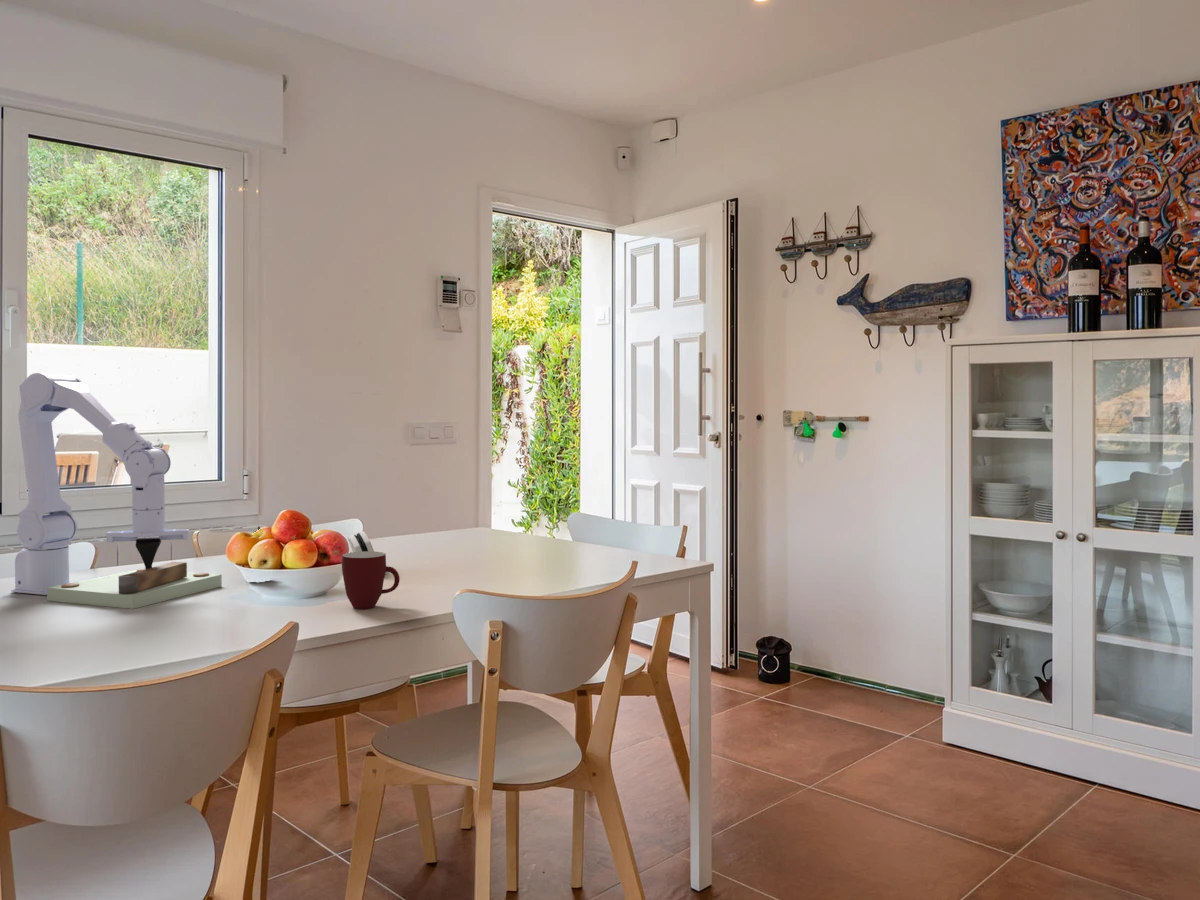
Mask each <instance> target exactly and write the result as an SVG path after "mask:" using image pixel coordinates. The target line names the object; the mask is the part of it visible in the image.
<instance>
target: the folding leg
mask: <svg viewBox="0 0 1200 900" xmlns="http://www.w3.org/2000/svg"><path fill="white" fill-rule="evenodd" d="M187 564H188V562H186V561H184V562H183V561H182V562H181V561H172V562H168V563H164V564H160V565H156V566H152V568H149V569H145V570H141V571H137V572H134V573H130V574H126V575H122V576H119V593H121V594H128V593H135V592H138V591H142V590H145V589H148V588H151V587H155V586H158V585H161V584H165V583H168V582H171V581H175V580H178V579H181V578H185V577H187V572H188V565H187Z"/></svg>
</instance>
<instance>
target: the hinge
mask: <svg viewBox="0 0 1200 900" xmlns="http://www.w3.org/2000/svg"><path fill="white" fill-rule="evenodd" d="M347 539H348V543H349V545H350V548H351V551H352V552H363V551H373V552H375V550H374V548H373V544H372V543H371V540H370V539H369V537H368V534H367V533H366V532H365V531H358V532H357V533H356V534H351V535H349V536H348V537H347ZM388 574H389V572H386V573H385V575H388Z"/></svg>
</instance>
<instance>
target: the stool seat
mask: <svg viewBox="0 0 1200 900" xmlns="http://www.w3.org/2000/svg"><path fill="white" fill-rule="evenodd" d="M141 570H145V567H144V568H143V567H142V568H139V569H133V570H128V571H123V572H117V573H113V574H109V575H103V576H99V577H92V578H87V579H83V580H78V581H73V582H69V583H68V584H63V585H58V586H53V587H48V588H47V595H46V601H48V602H56V603H57V602H58V603H69V604H70V603H71V604H79V605H88V606H89V605H90V606H99V607H111V608H120V609H129V610H130V609H131V610H134V609H137V608H141V607H145V606H149V605H153V604H157V603H162V602H165V601H168V600H173V599H178V598H181V597H184V596H188V595H193V594H197V593H201V592H204V591H208V590H213V589H217V588H220V587H222V584H223V583H222V581H223V580H222V579H223V578H222V576H223V575H222V574H220V573H219V574H217V573H209V572H194V571H187V577H185V578H181V579H178V580H175V581H171V582H168V583H165V584H161V585H158V586H155V587H151V588H148V589H145V590H142V591H138V592H135V593H128V594H121V593H119V576H122V575H126V574H130V573H134V572H137V571H141Z"/></svg>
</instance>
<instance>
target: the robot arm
mask: <svg viewBox="0 0 1200 900" xmlns="http://www.w3.org/2000/svg"><path fill="white" fill-rule="evenodd" d="M18 387H19V394H20V400H21V401H20V405H19V409H18V423H19V424H18V425H19V432H20V441H21V446H22V447H21V448H22V455H23V457H22V458H23V463H24V464H23V465H24V471H25V478H26V488H27V497H28V502H27V503H26V505H24V507H22V508H21V510H20V511H19V512H18V516H19V517H18V518H19V521H18V525H17V529H16V536H17V539H18V541H19V542H20V543H21V545H22V546H23V548H22V549H20V550H19V552H18V553H16V556H15V559H14V588H12V589H10V591H11V592H12V593H20V594H21V593H22V594H31V595H32V594H33V595H39V596H41V595H42V596H43V595H44V596H47V588H48V587H53V586H58V585H63V584H68V583H70V559H69V558H70V553H69V552H70V549H69V548H70V547H69V546H71V545H72V540H73V539H75V537H76V535H77V533H78V523H77V521H76V519H75V517H74V515H73V512H72V507H71V505H70V504H69V503H68V502H66V501H65V499H63V497H62V496H61V489H60V481H59V473H58V471H59V470H58V465H57V457H56V449H55V440H54V432H53V425H52V424H53V423H52V422H54V420H55V419H56V418H57V417H58V416H59V415H60V414H62V413H64V412H65V411H67V410H69V409H71V410H74V411H75V412H77V413H78V414H79V415H80V417H81V416H82V418H84V420H86V421H87V422H88V423H90V424H91V425H92V426H93V427H95V428H96V429H97V430H98V431H100V432H101V433H102V442H103V443H104V444H105V445H106V446H107V447H108V448H109V449H110V450H111V451H112V452H113V453H114V454H115V455H116V456H117V457H118V458H120V459H121V461H122V462H124V467H125V468H124V470H125V471H126V473H127V474H128V476H129V478H130V485H131V486H132V488H131V490H132V491H131V492H132V493H131V494H132V495H131V497H132V499H131V500H132V503H131V504H132V508H131V509H132V511H131V513H132V516H131V517H132V519H131V520H132V523H131V524H132V525H131V526H132V529H130V530H118V531H115V530H114V531H113V530H112V531H107V532H106V543H107V544H109V543H115V542H116V543H117V542H119V543H120V542H135V548H136V550H137V552H138V553H139V555H140V557H141V559H142V561H143V563H144V564H143V565H144V568H145V569H149V568H152V567H153V563H154V559H155V557H156V554H157V552H158V550H159V547H160V545H161V544H162V541H170V540H172V541H173V540H175V541H176V540H177V541H179V540H183V541H185V540H186V541H189V540H190V529H188V528H185V529H184V528H183V529H182V528H181V529H179V528H166V527H165V524H166V523H165V522H166V520H165V513H166V512H165V475H166V474H167V473H169V471H170V469H171V457H170V455H169V454H168V453H167V451H166V449H164V448H161V447H154V446H153V444H152V442H151V441H149V440H146V439H145V438H144V437H143V436H141V434H140V433H139V432H137V430H135V429H137V428H136V426H135V425H134V424H133V423H128V422H126V421H117V420H116V419H115V418H114V417H113V416H112V415H111V414H110V412H109V411H107V409H106V408H105V407H104V406H103V405H102V404H101V403H100V402H99V401H98V400H97V399H96V397H94V396H93V394H91V392H90V391H89V390H90V389H89V386H88V385H87V384H86V383H84V382H82V380H81V379H80V378H79V377H78V376H76V375H72V374H64V375H63V374H49V373H47V374H46V373H42V372H34V373H31V374H30V375H28V376H27V377H26V378H25V379H24V381H23V382H22V383H21V384H20V385H19V386H18ZM45 514H46V515H45Z"/></svg>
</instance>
